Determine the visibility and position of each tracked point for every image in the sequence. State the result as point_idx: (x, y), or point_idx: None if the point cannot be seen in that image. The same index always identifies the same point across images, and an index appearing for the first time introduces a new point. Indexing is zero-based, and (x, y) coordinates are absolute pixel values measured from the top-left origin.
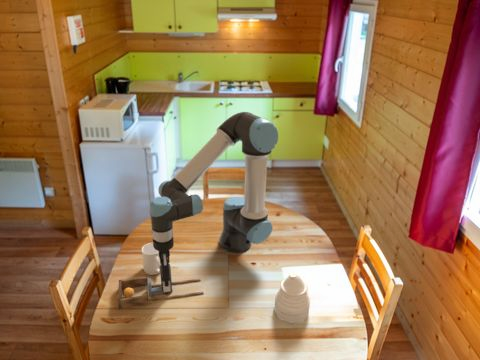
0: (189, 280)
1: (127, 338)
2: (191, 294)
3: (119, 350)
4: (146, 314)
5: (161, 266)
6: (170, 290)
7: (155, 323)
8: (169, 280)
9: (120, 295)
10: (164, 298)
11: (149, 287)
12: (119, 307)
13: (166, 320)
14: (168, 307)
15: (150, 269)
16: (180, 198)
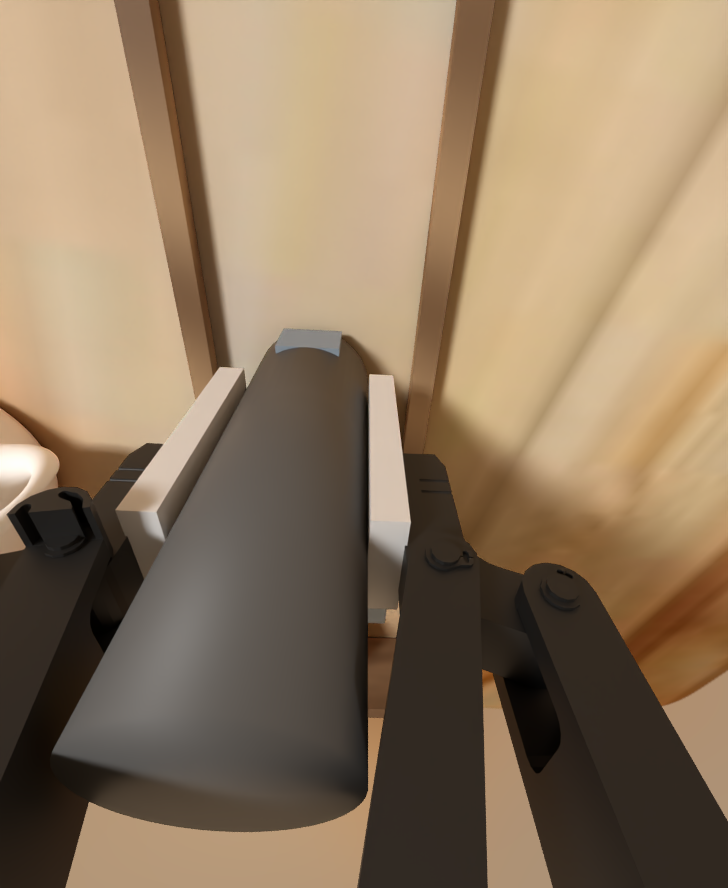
0: (134, 19)
1: (671, 624)
2: (485, 55)
3: (725, 649)
4: (535, 540)
5: (212, 816)
6: (393, 382)
7: (665, 499)
8: (587, 591)
9: (372, 709)
10: (427, 420)
11: (375, 613)
12: None
13: (695, 425)
14: (546, 392)
15: (19, 538)
16: None
